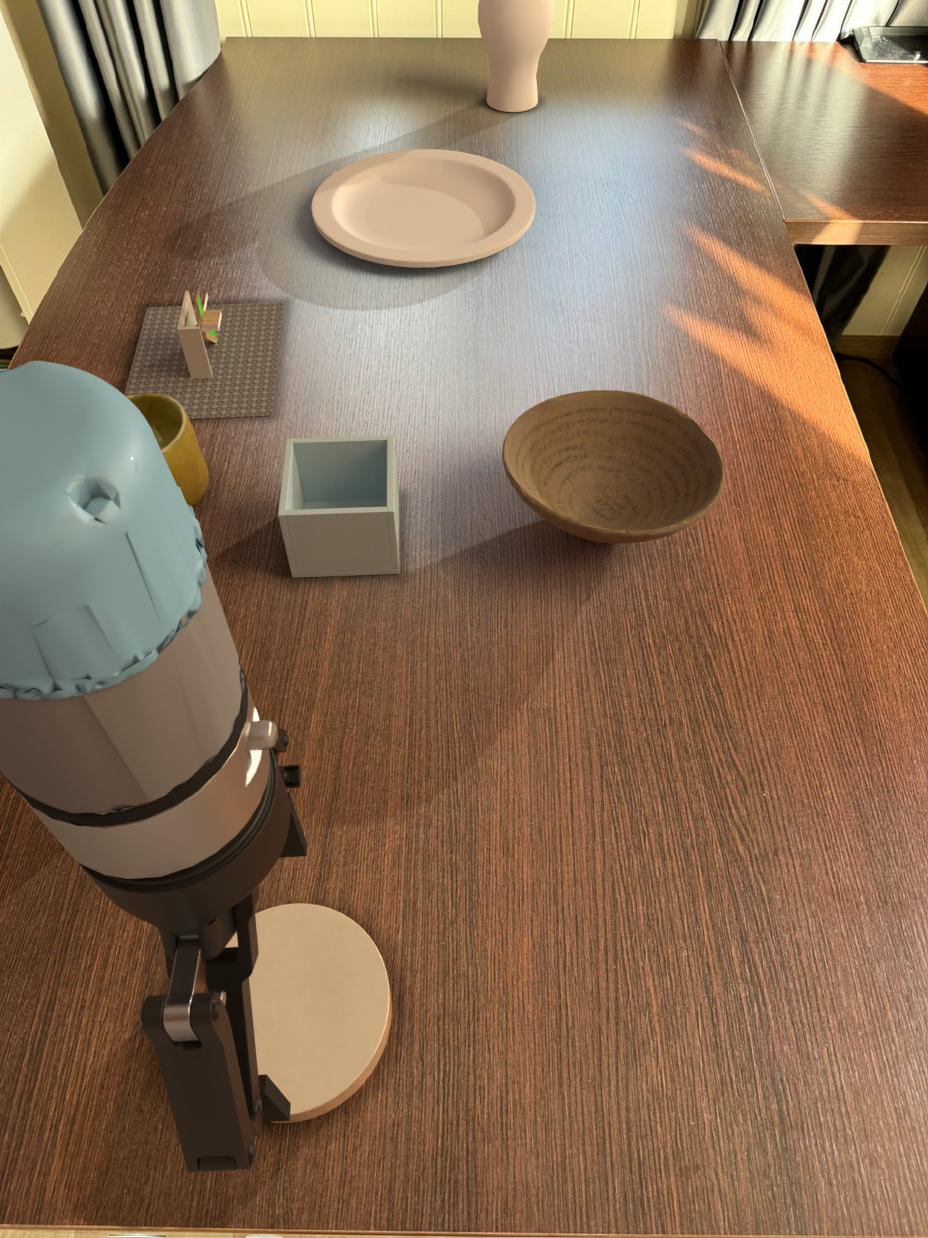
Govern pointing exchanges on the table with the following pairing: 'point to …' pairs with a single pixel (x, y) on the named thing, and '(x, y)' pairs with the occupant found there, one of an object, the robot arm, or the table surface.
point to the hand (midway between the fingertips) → (274, 971)
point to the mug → (176, 443)
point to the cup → (514, 49)
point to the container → (340, 506)
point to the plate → (423, 208)
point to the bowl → (613, 466)
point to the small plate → (317, 1005)
